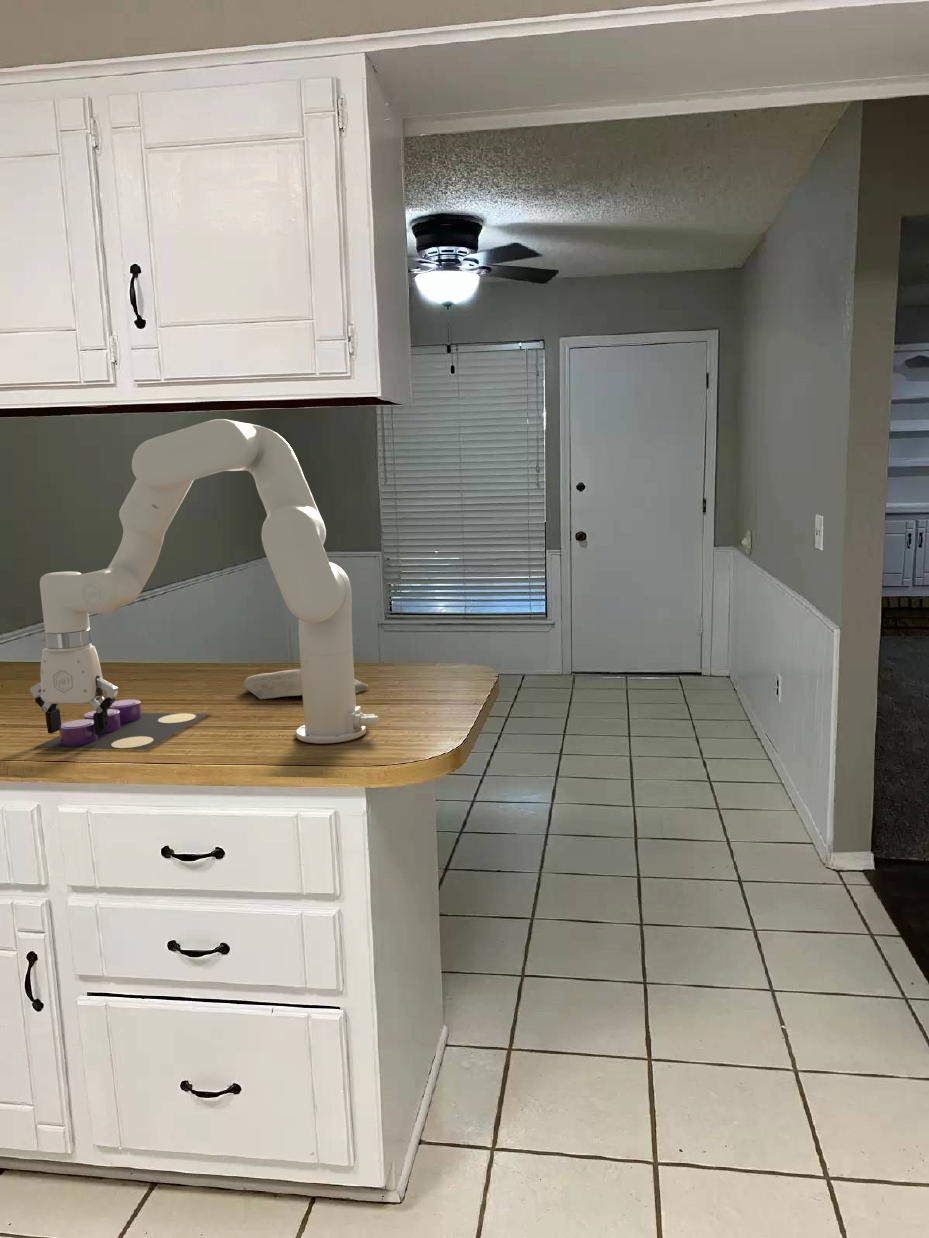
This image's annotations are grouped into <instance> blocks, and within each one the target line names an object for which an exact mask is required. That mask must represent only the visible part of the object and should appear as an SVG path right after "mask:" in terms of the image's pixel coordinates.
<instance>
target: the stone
mask: <svg viewBox="0 0 929 1238" xmlns="http://www.w3.org/2000/svg"><path fill="white" fill-rule="evenodd" d="M354 680H355V694H359V693H361V692H363V691H365V690H366V689H368V688H369V685H368V683H365V682H362V681H359V680H357V679H356V678H354ZM242 687H243V688H245V689H246V690H248V691H249V692H250V693H252V695H254V696H256V698H257V699H259V700H266V699H275V698H282V697H295V696H303V695H302V680H301V668H298V669H287V670H281V671H280V670H279V671H274V672H265V673H258V674H255V675H251V676H248V677H246V678H245V679H244V681H243V685H242Z"/></svg>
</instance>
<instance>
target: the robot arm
mask: <svg viewBox="0 0 929 1238" xmlns="http://www.w3.org/2000/svg"><path fill="white" fill-rule="evenodd" d="M131 470H132V473H133V475H134V477H135V481H134V483H133V484H132V486H131V488H130V490H129V492H128V493H127V495H126V497H125V499H124V501H123V503H122V504H121V507H120V509H119V511H118V517H119V520H120V523H121V525H122V532H123V533H122V538H121V542H120V544H119V546H118V548H117V551H116V553H115V554H114V557H113V558H112V560H111V561H110V563H109V565H108V567H107V568H103V569H99V570H95V571H91V572H85V573H81V572H79V571H73V570H72V571H71V570H70V571H69V570H68V571H55V572H48V573H45V574H43V575H42V576H41V577H40V579H39V590H40V599H41V608H42V618H43V627H44V633H42V634H40V641H41V642H45V647H44V648H43V649H42V651H41V658H40V681H39V682H37V683H36V684H34V685H32V686H31V687H30V688H29V692H30V694H31V695H32V697H33V698H34V701H35V703H36V705H38V706H39V707H40V708H41V709H40V710H41V712H42V713H45V723H46V728H47V733H48V734H50V735H51V734H54V733H57V732H58V731H59V726H60V725H61V724H62V719H61V717H62V716H61V710H60V708H57V707H58V705H84V704H89V705H90V706H91V707H92V709H93V711H96V713H94V714H93V718H94V728H95V734H101V733H103V732H106V731H107V730H108V726H109V723H108V713H107V710H108V709H109V708H110V706H111V705H112V704H113V703H114V701H116V698H117V695H118V693H119V689H120V688H119V687H118V686H116V685H114V684H113V683H111V682H109V681H107V680H105V679H103V672H102V667H101V662H100V659H99V655H98V652H97V649H96V646H95V645H93V644H92V633H91V623H90V614H96V615H97V614H100V615H101V614H106V613H110V612H112V611H115V610H118V609H120V608H123V607H126V606H128V605H130V604H132V603H133V602H134V601H135V600H136V599H137V598H138V597H139V596H140V594H141V593H142V591H143V589H144V588H145V586H146V584H147V582H148V580H149V579H150V576H152V574H153V572H154V569H155V568H156V565H157V563H158V561H159V557H160V554H161V550H162V547H163V544H164V539H165V535H166V532H167V531H168V529H169V526H171V523H172V521H173V519H174V517H175V516H176V514H177V512H178V510H179V508H180V506H181V505H182V503H183V501H184V499H185V497H186V495H187V493H188V492H189V490H190V488H191V486H192V484H193V483H194V481H195V480H198V479H201V478H205V477H208V476H211V475H214V474H218V473H222V472H237V471H246V472H249V473H250V474H251V475H252V477H253V479H254V482H255V487H256V489H257V493H258V495H259V498H260V500H261V503H262V504H263V507H264V510H265V512H266V515H267V516H266V518H265V520H264V521H263V523H262V527H261V534H260V535H261V542H262V547H263V550H264V553H265V556H266V558H267V561H268V564H269V566H270V569H271V571H272V573H273V576H274V579H275V581H276V584H277V586H278V589H279V591H280V594H281V597H282V598H283V601H284V604H285V605H286V607H287V608H288V610H289V612H291V614H292V615H293V616H294V617H296V618H297V619H298V647H299V665H300V669H301V680H302V695H301V696H302V707H303V721H304V725H301V726H300V727H298V728H297V729H296V732H295V733H296V734H295V735H296V739H297V740H299V741H301V742H304V743H309V744H321V745H322V744H336V743H337V744H338V743H344V742H349V741H353V740H356V739H358V738H360V737H363V736H364V735H365V734H366V732H367V727H368V728H378V727H379V724H380V717H379V716H378V715H376V714H375V713H368V714H365V713H363V712H362V706H357V699H356V697H357V696H356V693H355V680H354V679H355V665H354V644H353V643H354V642H353V617H352V616H353V613H352V612H353V601H352V600H353V593H352V585H351V581H350V579H349V577H348V575H347V573H346V572H345V570H344V569H342V567H340V566H339V565H337V564H336V563H333V562H330V560H329V557H328V555H327V552H326V550H325V547H324V544H325V541H326V536H327V529H326V526H325V523H324V520H323V518H322V516H321V513H320V511H319V509H318V506H317V503H316V502H315V499H314V496H313V493H312V492H311V489H310V486H309V484H308V481H307V480H306V478H305V475H304V473H303V470H302V467H301V465H300V463H299V461H298V458H297V456H296V453H295V452H294V450H293V449H292V447H291V446H290V444H289V443H288V442H287V441H286V439H285V438H284V437H282V436H281V435H280V434H279V433H278V432H276V431H274V430H273V429H270V428H267V427H266V426H261V425H258V424H253V423H247V422H242V421H236V420H230V419H225V418H216V419H215V418H214V419H211V420H207V421H203V422H201V423H197V424H193V425H190V426H187V427H185V428H182V429H177V430H175V431H172V432H168V433H165V434H161V435H159V436H155V437H152V438H149V439H146V440H145V441H144V442H142V443H141V444H140V445H139V446H138V447H136V449H135V451H134V453H133V455H132V459H131ZM105 692H106V696H105V697H104V693H105Z"/></svg>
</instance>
